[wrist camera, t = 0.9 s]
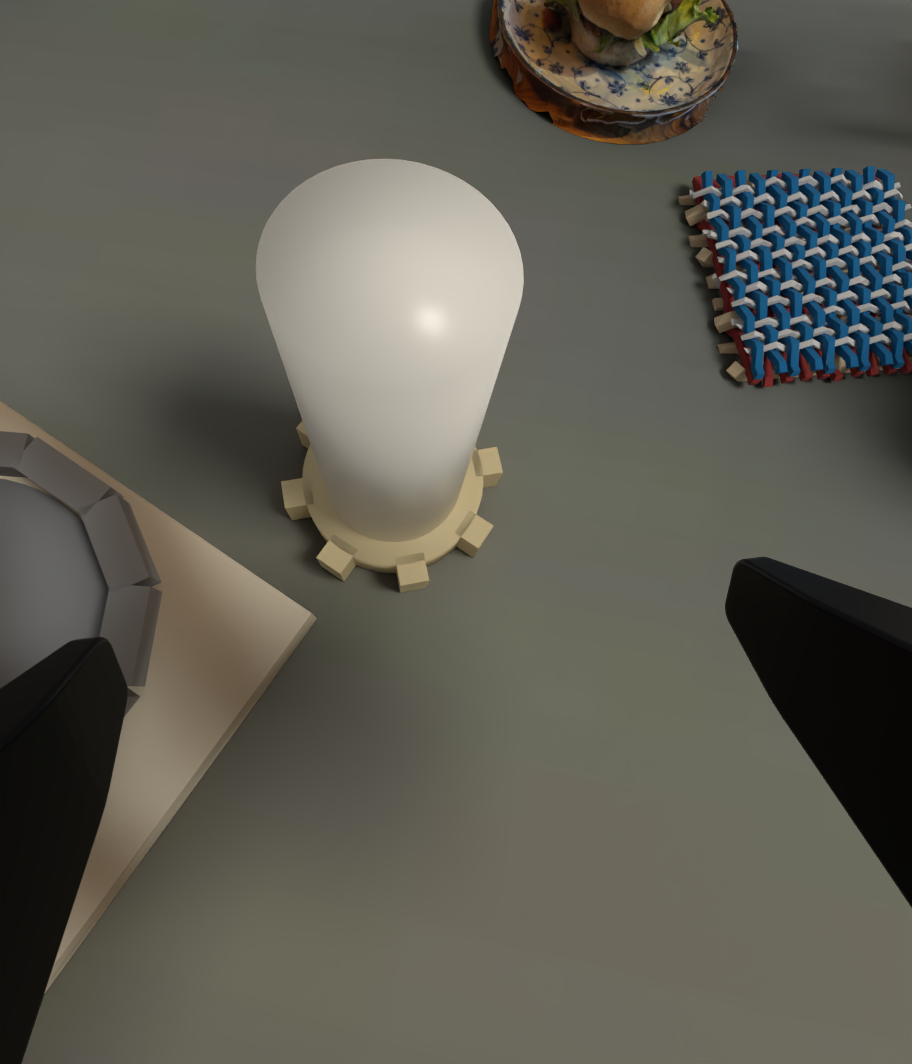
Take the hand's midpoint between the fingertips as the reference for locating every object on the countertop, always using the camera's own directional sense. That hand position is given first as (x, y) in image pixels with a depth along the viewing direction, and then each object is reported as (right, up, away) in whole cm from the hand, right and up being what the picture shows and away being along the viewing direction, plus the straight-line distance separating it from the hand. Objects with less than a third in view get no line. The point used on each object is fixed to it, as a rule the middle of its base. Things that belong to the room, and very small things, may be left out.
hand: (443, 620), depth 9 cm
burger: (+8, +25, +22) cm, 34 cm away
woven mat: (+16, +13, +19) cm, 28 cm away
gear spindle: (-2, +3, +14) cm, 15 cm away
